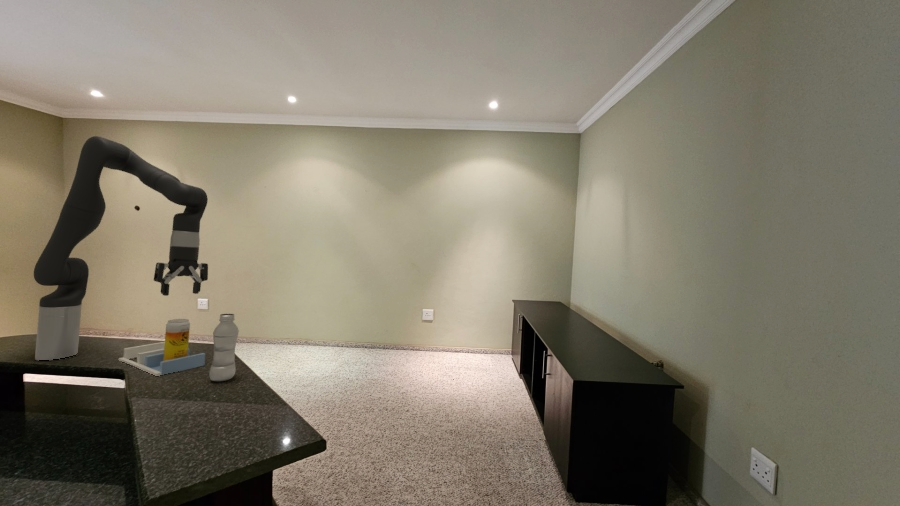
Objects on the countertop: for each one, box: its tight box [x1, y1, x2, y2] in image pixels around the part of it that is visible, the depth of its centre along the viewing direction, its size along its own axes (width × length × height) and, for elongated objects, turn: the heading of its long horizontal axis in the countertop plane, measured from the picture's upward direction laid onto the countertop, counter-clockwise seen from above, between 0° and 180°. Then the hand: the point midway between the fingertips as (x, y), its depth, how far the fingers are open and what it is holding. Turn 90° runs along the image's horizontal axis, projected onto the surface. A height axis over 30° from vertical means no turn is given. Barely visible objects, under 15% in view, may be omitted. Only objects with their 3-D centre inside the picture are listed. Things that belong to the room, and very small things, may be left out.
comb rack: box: [118, 341, 206, 377], centre depth 111 cm, size 24×13×4 cm, turn 65°
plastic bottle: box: [208, 312, 240, 382], centre depth 101 cm, size 6×7×20 cm
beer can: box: [163, 318, 191, 361], centre depth 109 cm, size 6×6×15 cm
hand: (180, 294), depth 109 cm, fingers open, 8 cm apart
